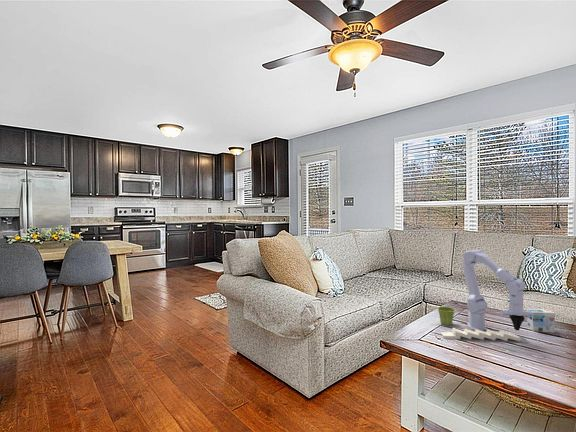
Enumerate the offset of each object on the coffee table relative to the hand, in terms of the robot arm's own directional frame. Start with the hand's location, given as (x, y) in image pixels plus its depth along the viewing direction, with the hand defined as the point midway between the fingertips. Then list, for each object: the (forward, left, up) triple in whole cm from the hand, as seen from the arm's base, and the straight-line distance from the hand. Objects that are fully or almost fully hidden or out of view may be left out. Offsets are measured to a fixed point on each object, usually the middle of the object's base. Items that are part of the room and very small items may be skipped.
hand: (516, 329), depth 162 cm
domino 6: (0, 0, -4) cm, 4 cm away
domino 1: (0, -27, -4) cm, 28 cm away
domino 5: (0, -5, -4) cm, 7 cm away
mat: (0, -12, -5) cm, 14 cm away
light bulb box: (-16, +20, -6) cm, 26 cm away
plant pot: (-21, -27, -6) cm, 35 cm away
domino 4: (0, -11, -4) cm, 12 cm away
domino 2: (0, -22, -4) cm, 23 cm away
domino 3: (0, -16, -4) cm, 17 cm away
